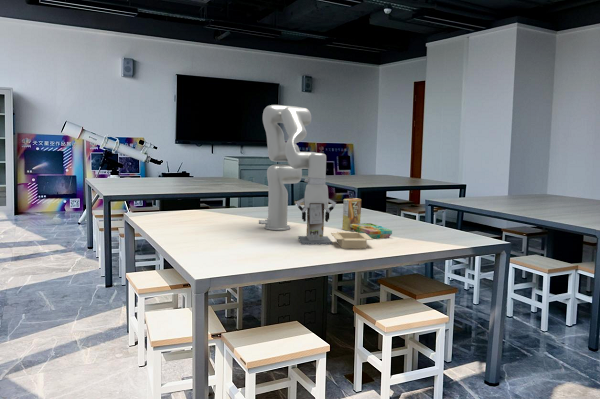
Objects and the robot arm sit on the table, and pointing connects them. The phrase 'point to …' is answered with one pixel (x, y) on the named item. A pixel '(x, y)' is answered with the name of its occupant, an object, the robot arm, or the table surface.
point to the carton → (351, 239)
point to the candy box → (351, 213)
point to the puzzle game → (372, 230)
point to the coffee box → (315, 222)
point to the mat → (305, 241)
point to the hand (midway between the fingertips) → (315, 221)
